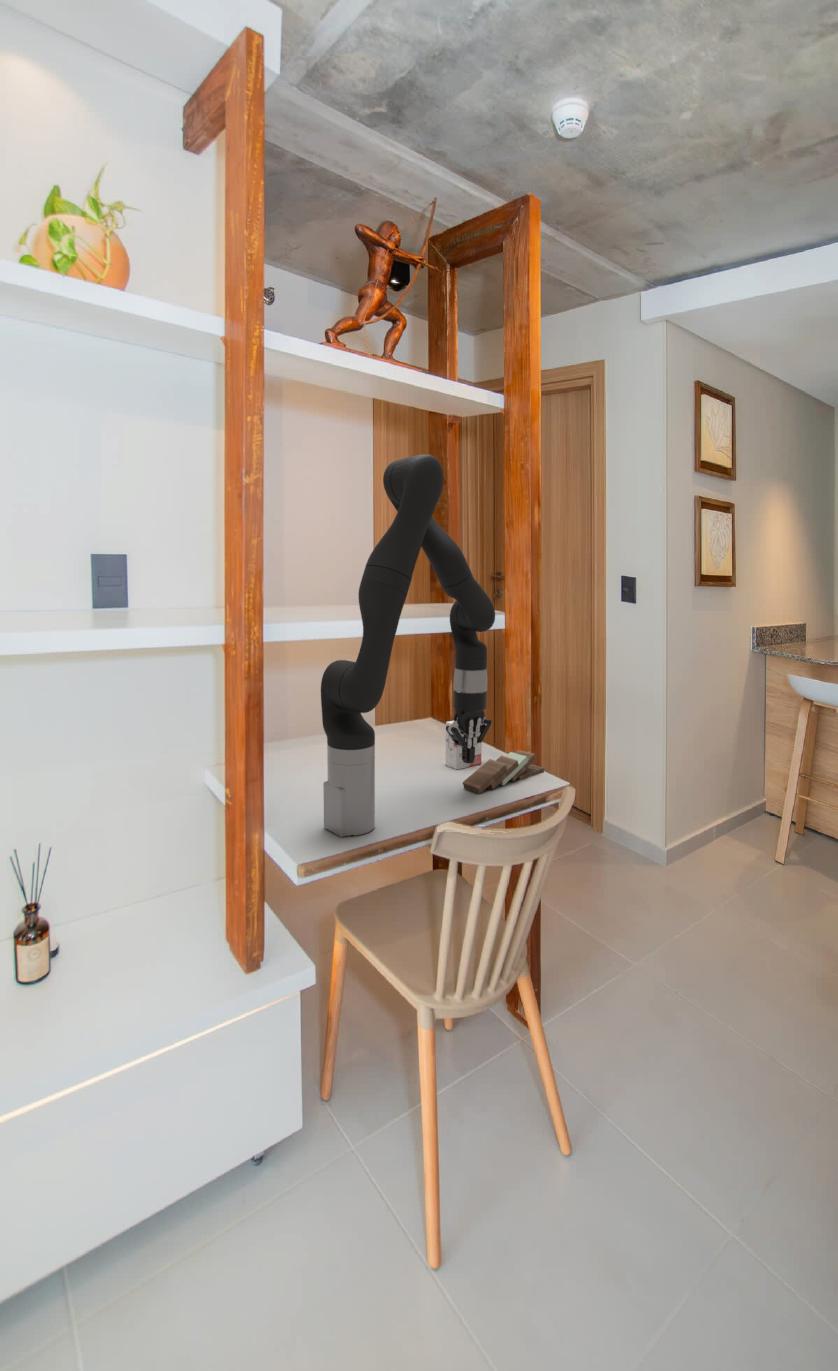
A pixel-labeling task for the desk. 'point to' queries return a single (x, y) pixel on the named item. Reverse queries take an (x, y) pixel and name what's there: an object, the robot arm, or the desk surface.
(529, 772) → the domino
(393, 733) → the desk surface
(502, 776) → the domino
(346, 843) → the desk surface
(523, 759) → the gap domino
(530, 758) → the domino
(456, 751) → the ink cartridge box
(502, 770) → the domino
